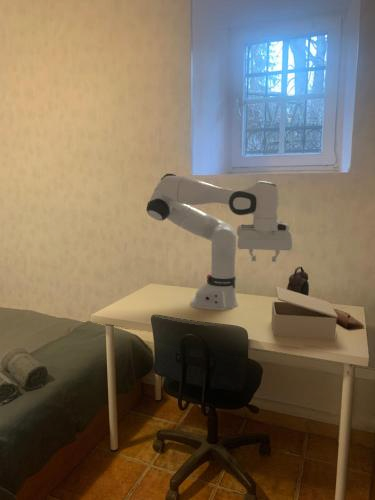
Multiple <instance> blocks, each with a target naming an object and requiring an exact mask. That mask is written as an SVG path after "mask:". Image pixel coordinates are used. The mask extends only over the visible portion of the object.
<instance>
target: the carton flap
mask: <svg viewBox="0 0 375 500" xmlns="http://www.w3.org/2000/svg"><path fill="white" fill-rule="evenodd" d="M274 287H275V292H276V297H277V300H278V301H279V302H286V303H290V304H293V305H296V306H300V307H303V308H306V309H310V310H313V311H316V312H320V313H323V314H326V315H330V316H333V317H336V318H337V317H338V316H337V314H336V313H335V311H334V309H335V308H334V307H333V306H332V305H331V303H330V302H329V301H327V300H324V299H320V298H317V297H313V296H310V295H308V296H307V295H304V294H300V293H297V292H293V291H290V290H287V288H282V287H279V286H274ZM333 308H334V309H333Z"/></svg>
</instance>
